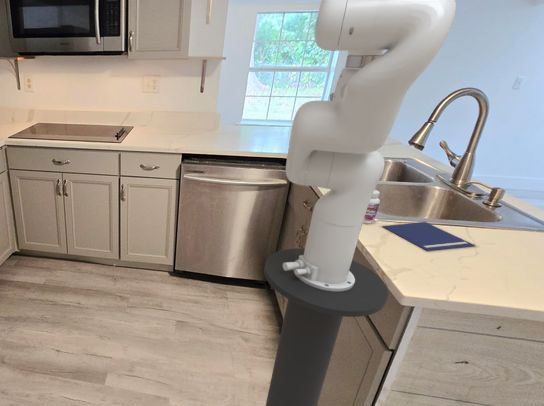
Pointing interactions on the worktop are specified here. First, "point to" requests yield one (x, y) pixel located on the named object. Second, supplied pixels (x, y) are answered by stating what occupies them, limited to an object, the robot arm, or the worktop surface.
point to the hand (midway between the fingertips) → (347, 128)
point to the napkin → (427, 236)
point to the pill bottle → (372, 208)
